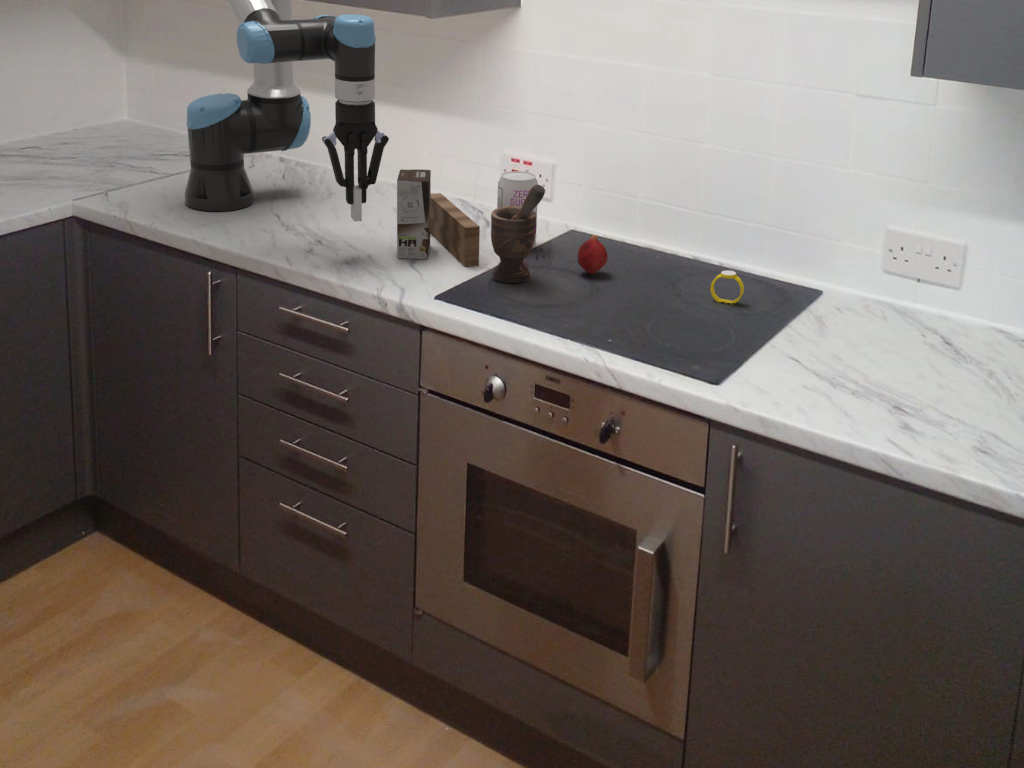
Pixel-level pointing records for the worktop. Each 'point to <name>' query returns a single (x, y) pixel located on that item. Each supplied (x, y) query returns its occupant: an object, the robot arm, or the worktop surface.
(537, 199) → the mortar and pestle
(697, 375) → the worktop surface
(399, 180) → the coffee box
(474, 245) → the wooden board
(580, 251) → the onion
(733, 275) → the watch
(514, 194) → the supplement can
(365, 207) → the worktop surface
